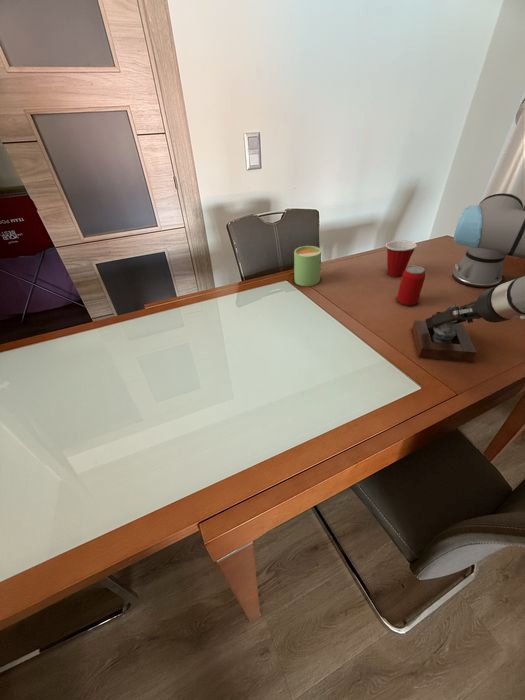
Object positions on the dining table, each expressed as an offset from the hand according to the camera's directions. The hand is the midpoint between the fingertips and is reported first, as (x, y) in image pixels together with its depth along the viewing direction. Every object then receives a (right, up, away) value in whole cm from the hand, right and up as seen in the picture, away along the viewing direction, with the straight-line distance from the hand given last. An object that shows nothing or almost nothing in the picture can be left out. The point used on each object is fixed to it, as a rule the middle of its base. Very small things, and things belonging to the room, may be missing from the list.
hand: (437, 322), depth 85 cm
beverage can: (0, +9, +19) cm, 21 cm away
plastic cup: (+3, +22, +35) cm, 41 cm away
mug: (-32, +21, +37) cm, 53 cm away
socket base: (+1, -6, +1) cm, 7 cm away
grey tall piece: (+1, -5, 0) cm, 5 cm away
